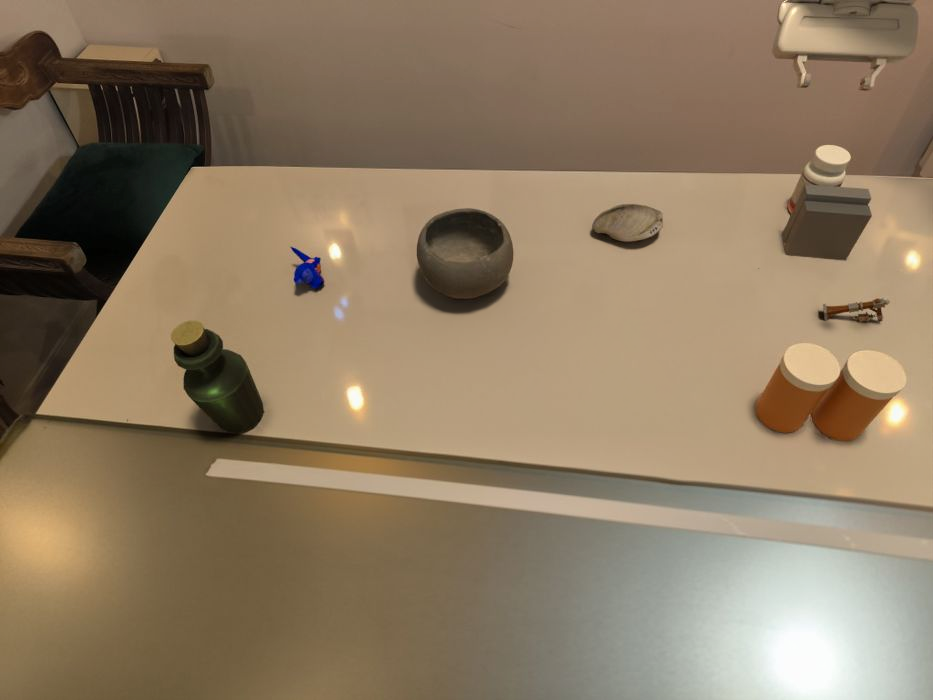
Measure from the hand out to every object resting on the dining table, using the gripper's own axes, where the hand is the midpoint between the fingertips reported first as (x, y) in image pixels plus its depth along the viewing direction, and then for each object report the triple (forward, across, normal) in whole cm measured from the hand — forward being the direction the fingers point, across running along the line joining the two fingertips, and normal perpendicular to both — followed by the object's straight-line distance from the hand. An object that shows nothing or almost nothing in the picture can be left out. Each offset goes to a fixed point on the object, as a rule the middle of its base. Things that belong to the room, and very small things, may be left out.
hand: (834, 88), depth 98 cm
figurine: (+40, -81, -17) cm, 91 cm away
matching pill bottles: (+50, -5, -27) cm, 57 cm away
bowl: (+37, -54, -14) cm, 67 cm away
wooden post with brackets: (+36, +3, -14) cm, 39 cm away
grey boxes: (+26, 0, -3) cm, 26 cm away
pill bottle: (+19, 0, +3) cm, 20 cm away
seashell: (+26, -30, -4) cm, 40 cm away
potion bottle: (+59, -80, -36) cm, 106 cm away
